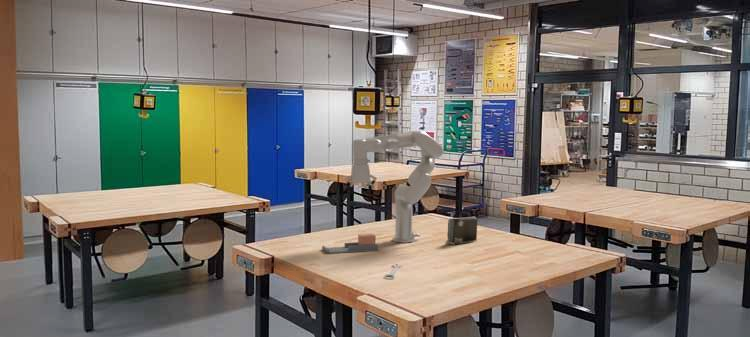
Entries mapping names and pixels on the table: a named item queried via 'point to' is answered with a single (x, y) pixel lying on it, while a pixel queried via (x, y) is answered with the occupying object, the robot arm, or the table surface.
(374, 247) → the chute
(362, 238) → the block
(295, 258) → the table surface
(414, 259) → the table surface
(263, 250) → the table surface
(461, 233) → the radio
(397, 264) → the wrench
